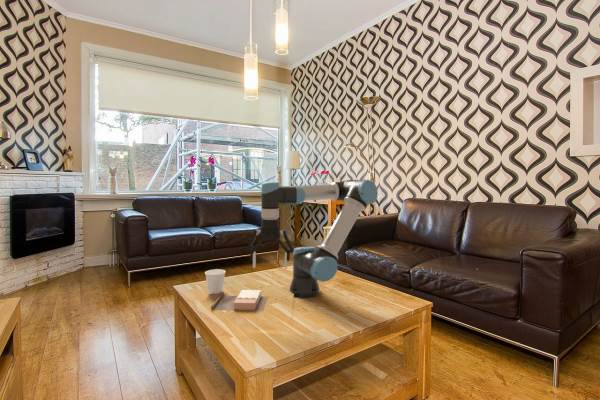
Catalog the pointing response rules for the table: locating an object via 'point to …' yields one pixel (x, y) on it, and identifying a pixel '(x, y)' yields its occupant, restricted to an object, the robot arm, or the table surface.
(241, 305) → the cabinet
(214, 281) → the cup
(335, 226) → the robot arm
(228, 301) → the board
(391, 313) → the table surface
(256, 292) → the cream flat block
